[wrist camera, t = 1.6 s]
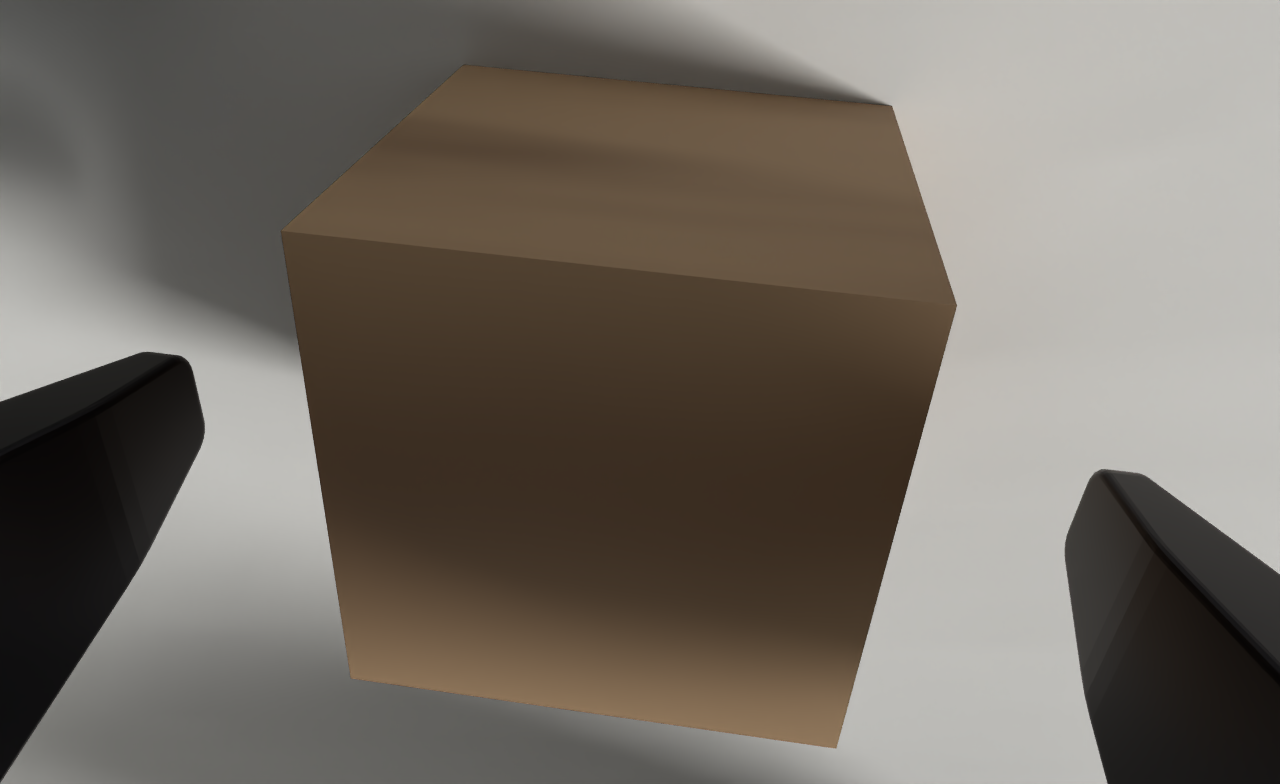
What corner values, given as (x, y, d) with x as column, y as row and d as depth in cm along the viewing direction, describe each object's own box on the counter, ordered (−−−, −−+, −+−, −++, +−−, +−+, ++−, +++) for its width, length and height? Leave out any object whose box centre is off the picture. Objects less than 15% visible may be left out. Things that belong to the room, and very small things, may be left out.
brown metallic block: (820, 452, 14) (836, 748, 10) (478, 411, 14) (351, 678, 10) (891, 103, 11) (955, 304, 7) (465, 62, 11) (279, 230, 7)
